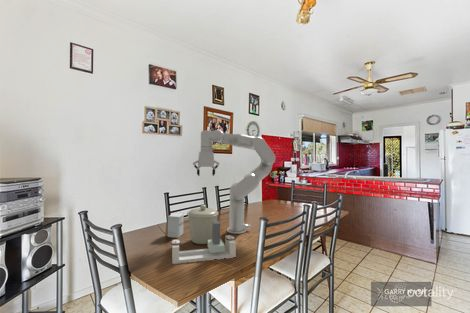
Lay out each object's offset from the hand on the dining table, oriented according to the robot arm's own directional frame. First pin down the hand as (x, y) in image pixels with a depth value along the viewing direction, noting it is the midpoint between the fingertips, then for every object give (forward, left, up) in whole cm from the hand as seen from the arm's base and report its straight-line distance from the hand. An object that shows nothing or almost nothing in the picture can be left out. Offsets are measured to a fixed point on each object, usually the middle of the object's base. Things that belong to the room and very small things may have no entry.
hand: (206, 175), depth 152 cm
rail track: (+6, +38, -36) cm, 53 cm away
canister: (+4, +18, -36) cm, 41 cm away
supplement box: (+19, +5, -37) cm, 42 cm away
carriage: (0, +38, -33) cm, 50 cm away
